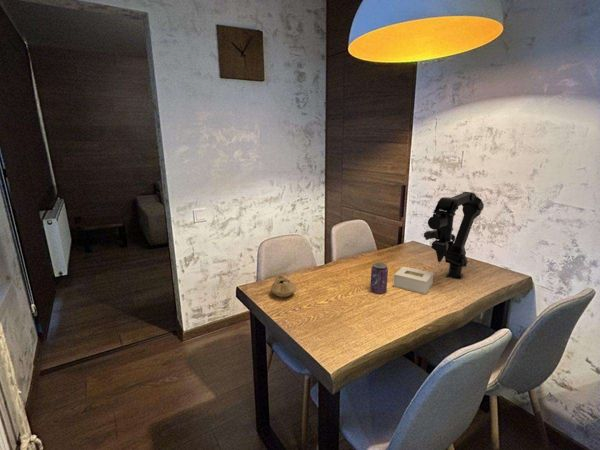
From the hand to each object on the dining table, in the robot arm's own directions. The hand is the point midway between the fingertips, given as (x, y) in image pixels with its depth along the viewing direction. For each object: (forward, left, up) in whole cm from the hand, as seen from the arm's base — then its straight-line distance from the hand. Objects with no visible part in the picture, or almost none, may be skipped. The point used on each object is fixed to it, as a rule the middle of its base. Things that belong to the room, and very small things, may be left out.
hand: (441, 258), depth 147 cm
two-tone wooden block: (+10, -9, -11) cm, 18 cm away
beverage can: (+24, -20, -12) cm, 34 cm away
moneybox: (+10, -9, -12) cm, 18 cm away
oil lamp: (+51, -53, -12) cm, 75 cm away
